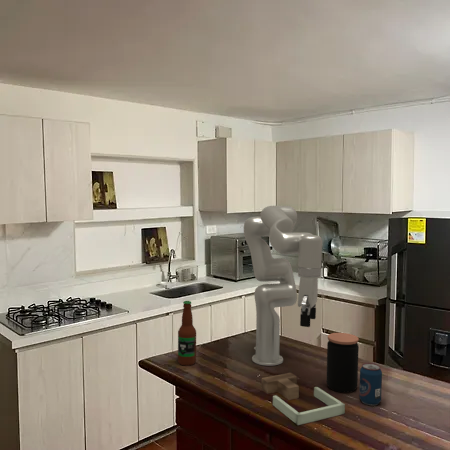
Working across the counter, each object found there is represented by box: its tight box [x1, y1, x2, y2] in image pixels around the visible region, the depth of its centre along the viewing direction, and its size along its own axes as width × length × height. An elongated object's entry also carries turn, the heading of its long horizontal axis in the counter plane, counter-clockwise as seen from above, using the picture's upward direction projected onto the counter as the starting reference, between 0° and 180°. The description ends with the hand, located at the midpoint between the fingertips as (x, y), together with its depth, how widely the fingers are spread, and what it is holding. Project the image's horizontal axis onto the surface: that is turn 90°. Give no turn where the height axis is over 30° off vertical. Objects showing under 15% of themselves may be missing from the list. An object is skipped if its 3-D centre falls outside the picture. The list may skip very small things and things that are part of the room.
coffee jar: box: [326, 332, 359, 394], centre depth 161 cm, size 11×11×18 cm
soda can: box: [358, 362, 383, 406], centre depth 149 cm, size 7×7×12 cm
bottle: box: [177, 300, 197, 367], centre depth 182 cm, size 7×7×25 cm
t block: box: [261, 372, 300, 401], centre depth 156 cm, size 11×12×4 cm
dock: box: [272, 386, 346, 426], centre depth 144 cm, size 14×17×3 cm
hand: (308, 322), depth 153 cm, fingers open, 9 cm apart
